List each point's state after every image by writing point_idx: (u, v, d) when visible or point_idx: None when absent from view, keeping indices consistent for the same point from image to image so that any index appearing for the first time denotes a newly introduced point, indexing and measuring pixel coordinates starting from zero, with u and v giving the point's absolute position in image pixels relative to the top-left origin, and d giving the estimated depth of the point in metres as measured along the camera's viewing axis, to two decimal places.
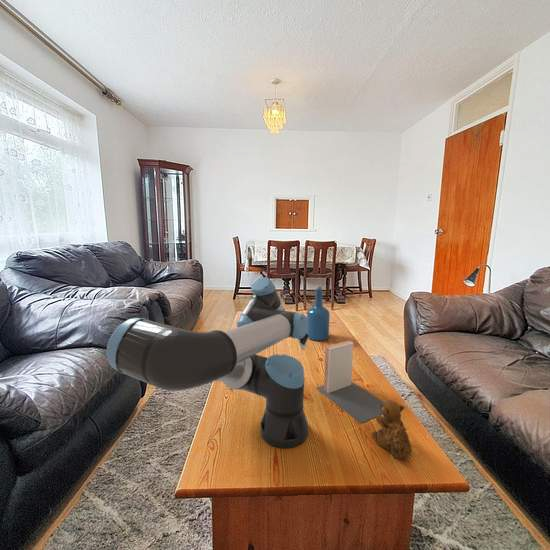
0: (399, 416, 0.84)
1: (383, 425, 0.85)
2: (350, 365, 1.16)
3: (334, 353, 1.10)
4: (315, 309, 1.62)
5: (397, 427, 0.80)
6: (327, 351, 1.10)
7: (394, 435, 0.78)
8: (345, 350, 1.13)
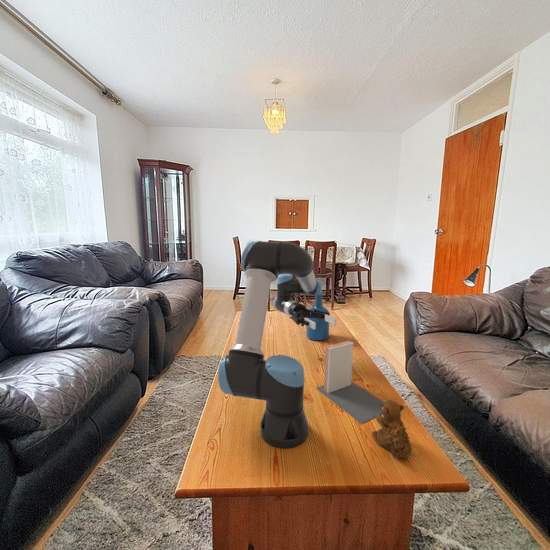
0: (399, 416, 0.84)
1: (383, 425, 0.86)
2: (350, 365, 1.16)
3: (334, 353, 1.10)
4: None
5: (397, 427, 0.80)
6: (327, 351, 1.10)
7: (394, 435, 0.78)
8: (345, 350, 1.13)
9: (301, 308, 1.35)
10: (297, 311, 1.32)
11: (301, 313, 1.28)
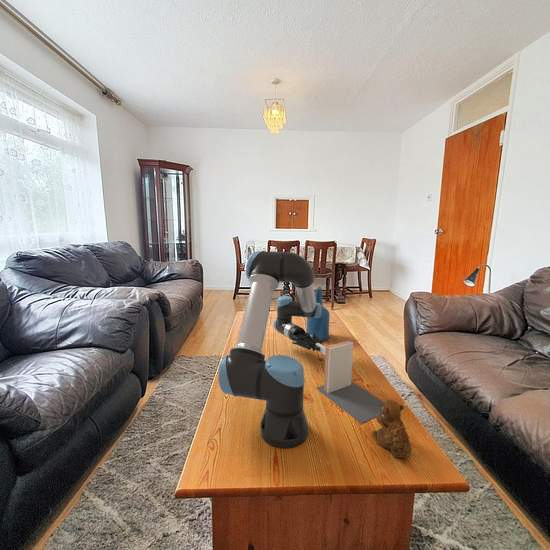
0: (399, 415, 0.84)
1: (383, 424, 0.86)
2: (350, 365, 1.16)
3: (334, 353, 1.10)
4: None
5: (397, 426, 0.80)
6: (327, 351, 1.10)
7: (394, 434, 0.79)
8: (345, 350, 1.13)
9: (301, 332, 1.37)
10: (297, 335, 1.35)
11: (305, 338, 1.31)
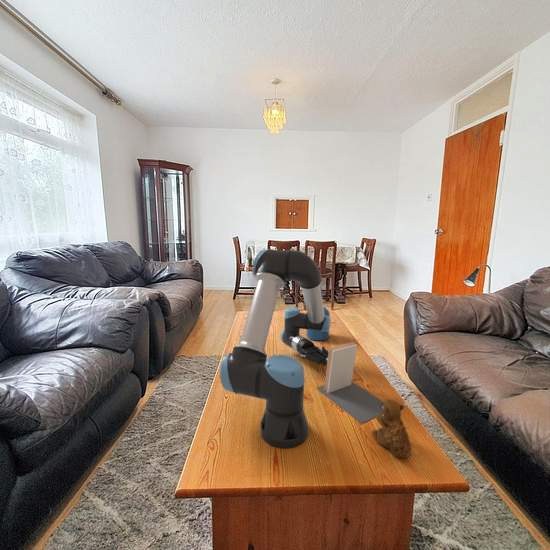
0: (399, 415, 0.84)
1: (383, 424, 0.86)
2: (352, 366, 1.15)
3: (337, 355, 1.09)
4: None
5: (397, 426, 0.80)
6: (330, 353, 1.08)
7: (393, 434, 0.79)
8: (348, 352, 1.11)
9: (309, 345, 1.32)
10: (306, 349, 1.29)
11: (314, 352, 1.26)
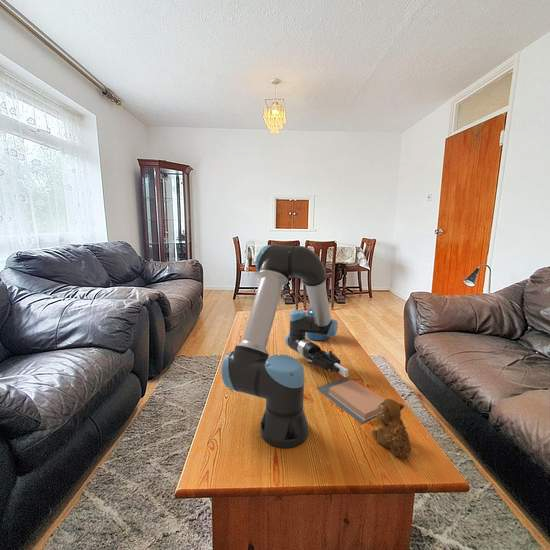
0: (399, 415, 0.84)
1: (383, 423, 0.86)
2: None
3: None
4: None
5: (396, 425, 0.80)
6: (361, 414, 0.97)
7: (393, 433, 0.79)
8: None
9: (316, 349, 1.27)
10: (312, 353, 1.25)
11: (321, 356, 1.21)
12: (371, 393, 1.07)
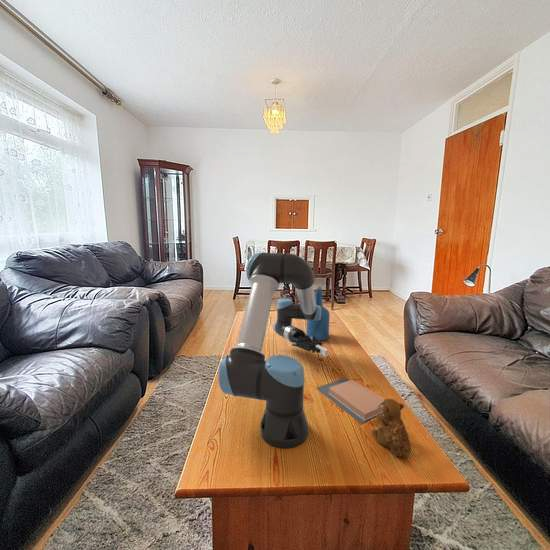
0: (399, 414, 0.85)
1: (383, 423, 0.86)
2: None
3: None
4: None
5: (396, 425, 0.81)
6: (361, 414, 0.97)
7: (393, 433, 0.79)
8: None
9: (301, 334, 1.37)
10: (297, 337, 1.35)
11: (305, 339, 1.31)
12: (371, 393, 1.07)
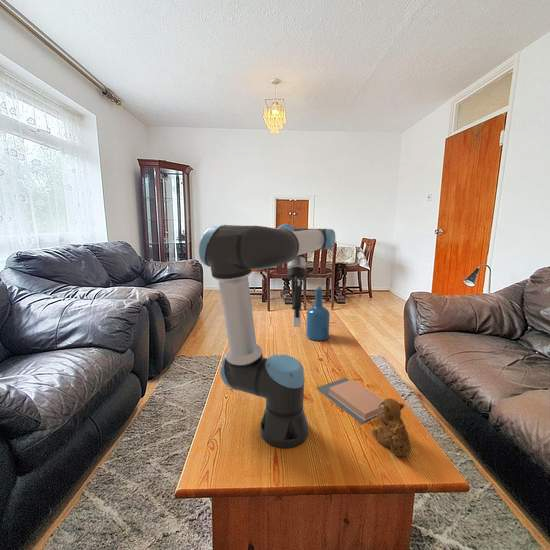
0: (399, 414, 0.85)
1: (383, 423, 0.86)
2: None
3: None
4: (315, 309, 1.62)
5: (396, 425, 0.81)
6: (361, 414, 0.97)
7: (393, 433, 0.79)
8: None
9: (292, 277, 1.18)
10: None
11: (292, 293, 1.17)
12: (371, 393, 1.07)
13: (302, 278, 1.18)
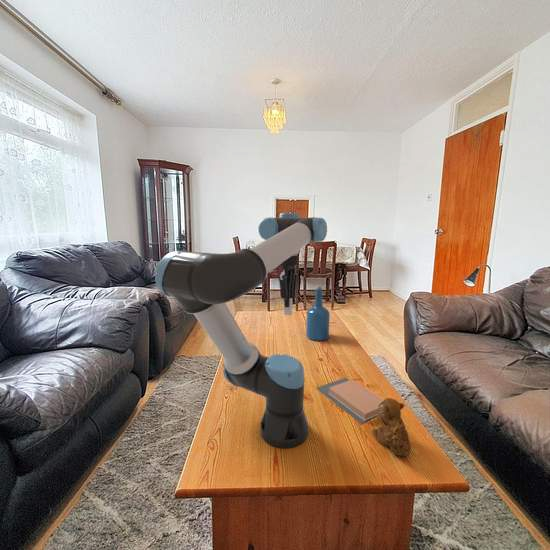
0: (399, 414, 0.85)
1: (383, 422, 0.87)
2: None
3: None
4: (315, 309, 1.62)
5: (396, 424, 0.81)
6: (361, 414, 0.97)
7: (393, 432, 0.79)
8: None
9: None
10: None
11: None
12: (371, 393, 1.07)
13: None
